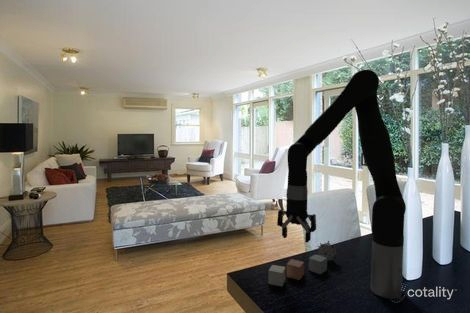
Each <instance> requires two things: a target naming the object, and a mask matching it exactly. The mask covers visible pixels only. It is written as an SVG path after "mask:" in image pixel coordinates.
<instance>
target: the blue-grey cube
mask: <svg viewBox="0 0 470 313" xmlns="http://www.w3.org/2000/svg"><path fill="white" fill-rule="evenodd" d="M316 254H317V253H315V254H313V255H311V256H310V257H309V258H308V271H310V272H313V273H315V274H318V275H321V274H323V273H325V272H326V271H327V269H328V262H327V258H325V257H322V256H319V255H318V254H317V255H316Z"/></svg>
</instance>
